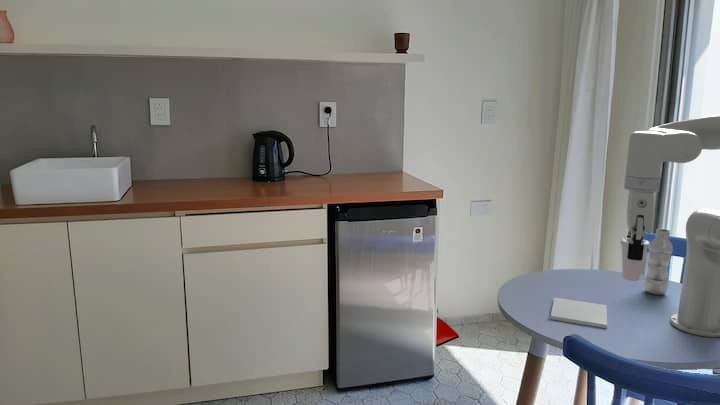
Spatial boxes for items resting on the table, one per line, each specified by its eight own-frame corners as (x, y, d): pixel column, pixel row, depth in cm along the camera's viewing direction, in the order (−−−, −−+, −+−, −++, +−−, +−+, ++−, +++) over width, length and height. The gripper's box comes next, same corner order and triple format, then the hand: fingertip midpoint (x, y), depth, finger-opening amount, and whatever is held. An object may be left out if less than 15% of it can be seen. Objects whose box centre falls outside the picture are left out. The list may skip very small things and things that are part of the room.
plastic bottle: (669, 292, 164) (678, 230, 159) (663, 299, 159) (672, 234, 155) (646, 287, 168) (654, 226, 164) (640, 293, 163) (648, 230, 159)
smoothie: (648, 283, 128) (656, 227, 125) (620, 281, 130) (626, 226, 126) (640, 274, 134) (647, 221, 131) (613, 272, 136) (619, 219, 133)
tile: (605, 308, 152) (606, 305, 152) (606, 328, 139) (607, 324, 139) (553, 300, 157) (554, 297, 157) (550, 319, 145) (550, 315, 144)
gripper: (664, 191, 118) (654, 268, 121) (655, 179, 133) (647, 247, 137) (626, 188, 120) (618, 264, 124) (622, 176, 136) (615, 244, 140)
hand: (633, 254), depth 131 cm, fingers closed on smoothie, 6 cm apart
